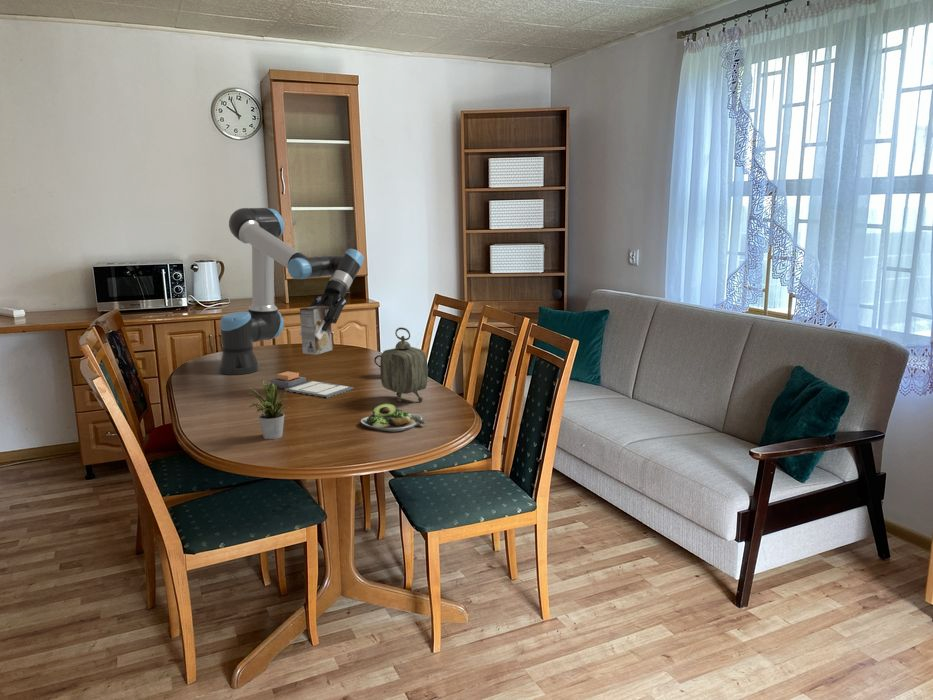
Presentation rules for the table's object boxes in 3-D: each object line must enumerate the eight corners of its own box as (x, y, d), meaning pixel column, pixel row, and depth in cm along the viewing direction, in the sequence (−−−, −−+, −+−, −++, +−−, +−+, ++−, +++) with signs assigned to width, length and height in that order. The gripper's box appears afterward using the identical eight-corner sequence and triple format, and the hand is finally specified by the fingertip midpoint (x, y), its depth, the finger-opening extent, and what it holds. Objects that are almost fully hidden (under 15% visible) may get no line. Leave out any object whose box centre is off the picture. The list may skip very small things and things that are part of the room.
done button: (276, 378, 252) (276, 374, 252) (287, 375, 257) (287, 371, 257) (288, 380, 249) (287, 376, 249) (299, 377, 254) (298, 373, 254)
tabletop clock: (428, 401, 230) (427, 328, 225) (408, 407, 223) (407, 331, 218) (398, 394, 239) (396, 323, 235) (379, 399, 233) (376, 327, 228)
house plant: (237, 433, 198) (233, 378, 194) (283, 425, 205) (280, 372, 202) (253, 447, 186) (249, 388, 183) (302, 437, 194) (298, 381, 191)
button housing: (270, 386, 252) (269, 379, 252) (288, 381, 260) (287, 374, 259) (288, 389, 247) (288, 382, 247) (306, 384, 255) (306, 377, 255)
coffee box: (319, 349, 249) (316, 305, 246) (332, 350, 246) (330, 306, 243) (301, 353, 241) (299, 308, 238) (316, 355, 238) (313, 309, 235)
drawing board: (284, 391, 245) (284, 388, 245) (311, 382, 257) (311, 380, 257) (327, 398, 235) (327, 395, 235) (353, 389, 247) (353, 386, 247)
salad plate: (439, 421, 210) (439, 406, 209) (407, 437, 194) (406, 422, 194) (387, 412, 219) (387, 398, 218) (352, 428, 204) (352, 413, 203)
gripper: (364, 293, 248) (336, 345, 237) (323, 291, 257) (294, 340, 247) (354, 280, 242) (325, 332, 232) (312, 278, 252) (283, 328, 241)
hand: (309, 336), depth 239 cm, fingers closed on coffee box, 6 cm apart
